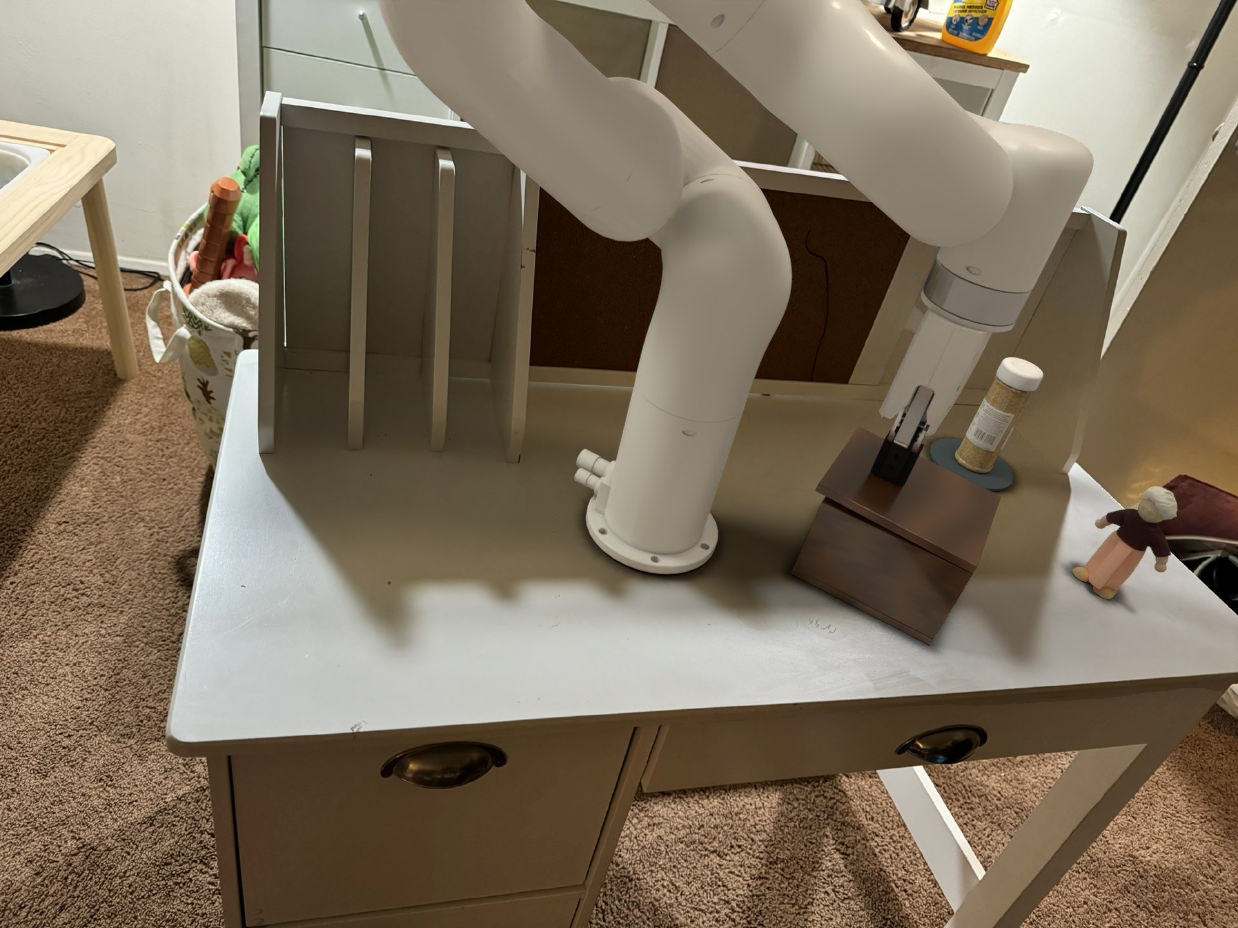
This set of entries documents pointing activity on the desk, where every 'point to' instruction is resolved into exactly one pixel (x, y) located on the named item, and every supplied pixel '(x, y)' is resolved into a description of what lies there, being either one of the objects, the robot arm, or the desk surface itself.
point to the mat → (945, 458)
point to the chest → (879, 571)
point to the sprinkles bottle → (998, 414)
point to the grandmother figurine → (1130, 542)
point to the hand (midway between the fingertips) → (888, 476)
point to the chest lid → (914, 501)
